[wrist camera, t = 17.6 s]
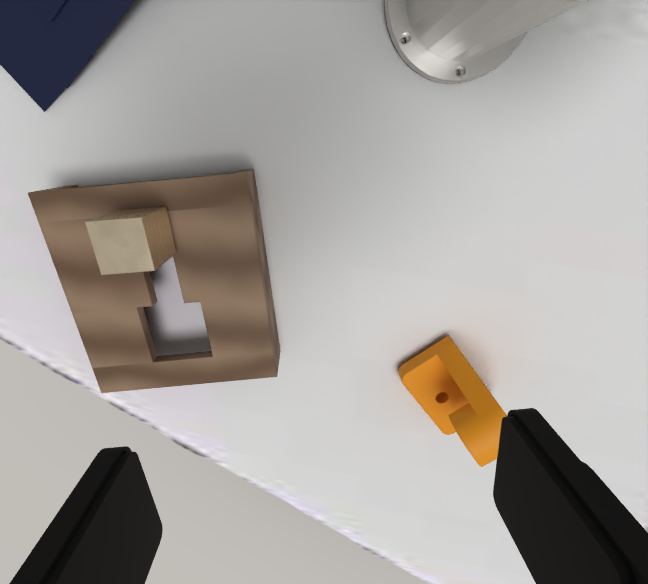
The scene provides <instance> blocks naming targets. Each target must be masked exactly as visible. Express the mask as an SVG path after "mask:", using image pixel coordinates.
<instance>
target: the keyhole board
mask: <svg viewBox="0 0 648 584" xmlns="http://www.w3.org/2000/svg"><path fill="white" fill-rule="evenodd" d="M28 195H29V197H30V200H31V203H32V206H33V208H34V211H35V214H36V216H37V219H38V222H39V225H40V227H41V230H42V233H43V235H44V238H45V241H46V244H47V246H48V249H49V252H50V254H51V257H52V260H53V263H54V265H55V268H56V271H57V273H58V276H59V279H60V282H61V284H62V287H63V290H64V292H65V295H66V298H67V301H68V303H69V306H70V309H71V311H72V314H73V317H74V320H75V322H76V325H77V328H78V330H79V333H80V336H81V339H82V341H83V344H84V347H85V349H86V352H87V355H88V358H89V360H90V363H91V366H92V368H93V371H94V374H95V377H96V379H97V382H98V385H99V387H100V390H101V393H107V392H117V391H128V390H139V389H150V388H160V387H171V386H182V385H192V384H203V383H214V382H225V381H235V380H246V379H257V378H268V377H277V373H278V365H279V358H280V346H279V339H278V332H277V325H276V318H275V311H274V304H273V298H272V291H271V284H270V277H269V270H268V263H267V256H266V250H265V243H264V236H263V229H262V222H261V215H260V208H259V201H258V195H257V188H256V181H255V174H254V169H252V170H241V171H239V172H236V173H233V174H222V175H211V176H200V177H189V178H177V179H166V180H155V181H144V182H133V183H122V184H111V185H99V186H88V187H78V186H77V185H74V186H64V187H58V188H52V189H46V190H41V191H35V192H29V193H28ZM154 207H166V208H167V212H168V217H169V221H170V226H171V230H172V235H173V239H174V244H175V248H176V254H174V255H173V257H174V262H175V266H176V270H177V274H178V278H179V282H180V286H181V291H182V295H183V299H184V303H191V302H201V306H202V310H203V315H204V319H205V324H206V328H207V333H208V337H209V341H210V346H211V350H212V351H207V352H196V353H185V354H174V355H163V356H157V353H156V350H155V347H154V343H153V340H152V336H151V333H150V329H149V326H148V322H147V319H146V315H145V312H144V308H143V307H148V306H153V305H154V304H155V303H156V302H157V298H156V294H155V291H154V287H153V283H152V280H151V276H150V272H149V271H145V272H132V273H120V274H107V275H101V272H100V269H99V266H98V262H97V259H96V256H95V253H94V249H93V246H92V243H91V240H90V236H89V233H88V230H87V227H86V223H85V222H86V221H89V220H92V219H95V218H98V217H100V216H103V215H106V214H109V213H112V212H115V211H117V210H128V209H141V208H154Z"/></svg>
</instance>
